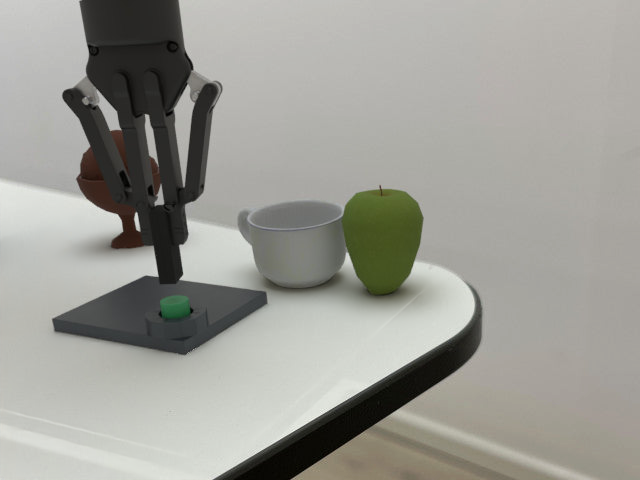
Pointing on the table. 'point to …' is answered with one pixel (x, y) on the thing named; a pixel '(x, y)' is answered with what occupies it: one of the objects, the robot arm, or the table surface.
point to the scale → (160, 314)
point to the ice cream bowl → (101, 197)
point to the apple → (382, 237)
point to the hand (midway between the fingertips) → (171, 279)
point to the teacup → (295, 240)
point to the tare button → (175, 307)
